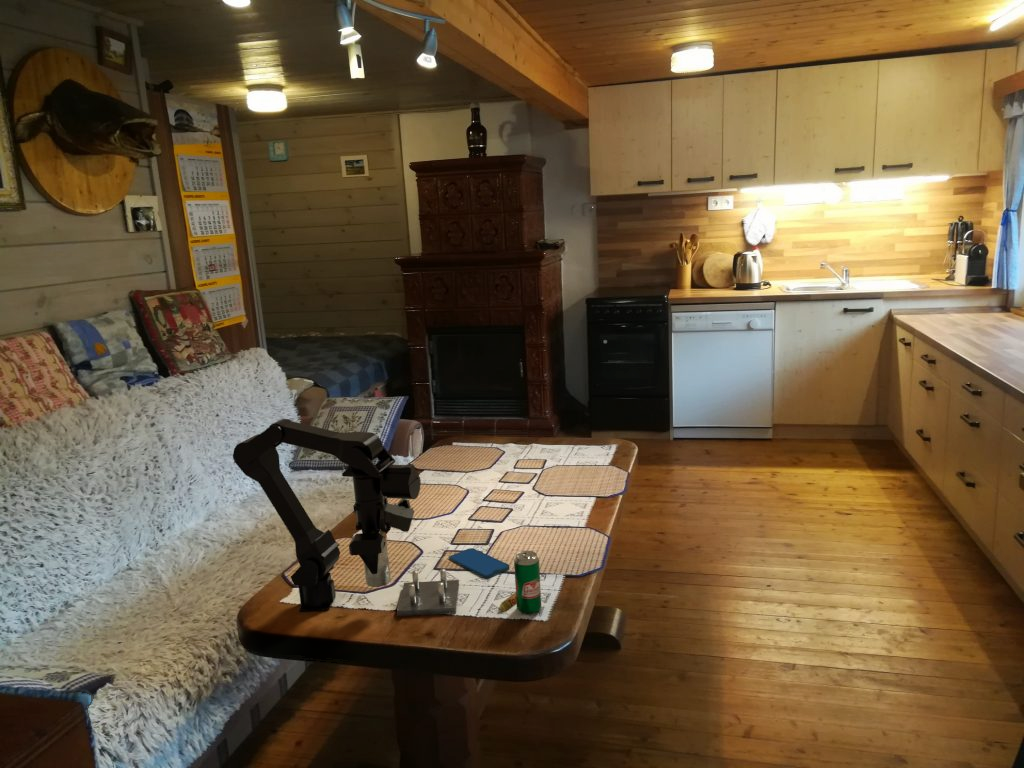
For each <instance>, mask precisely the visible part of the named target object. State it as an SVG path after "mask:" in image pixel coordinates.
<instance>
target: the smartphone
mask: <svg viewBox="0 0 1024 768" xmlns="http://www.w3.org/2000/svg"><path fill="white" fill-rule="evenodd" d="M448 560H449V561H452V562H453V563H455V564H457V565H459V566H460V567H463V568H464V569H466V570H468V571H470V572H472V573H473V574H475V575H477V576H479V577H481V578H483V579H489V578H493V577H494V576H497V575H499V574H501V573H504V572H506V571H508V570H510V564H508V563H507V562H504V561H502V560H499V559H498V558H495V557H493V556H491V555H489V554H486V553H484V552H482V551H480V550H478V549H475V548H472V547H469V548H466V549H464V550H462V551H458V552H457V553H454V554H452V555H449V556H448Z"/></svg>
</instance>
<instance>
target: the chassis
mask: <svg viewBox="0 0 1024 768" xmlns="http://www.w3.org/2000/svg"><path fill="white" fill-rule="evenodd" d="M446 571H447V570H446V568H441V569H439V575H440V576H439V577H440V580H432V581H429V580H428V581H419V571H418V570H417V569H416V570H412V571H411V575H412V582H410V581H409V582H404V583H403V586H402V591H401V594H400V597H399V601H398V606H397V610H396V615H397V617H410V616H425V615H426V616H428V615H446V614H456V613H457V605H458V598H459V590H460V589H459V587H460V580H459V579H451V580H447V573H446Z"/></svg>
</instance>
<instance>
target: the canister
mask: <svg viewBox="0 0 1024 768" xmlns="http://www.w3.org/2000/svg"><path fill="white" fill-rule="evenodd" d="M380 534H381V535H382V536H384V542H386V543H385V546H384V549H383V551H382V553H379V561H378V572H377V574H372V573H371V572H370V570H369V569H368V567H367V566H366V564H365V563H364V562H363V567H364V574H365V575H364V576H365V584H366V585H367V586H368V587H369V588H380V587H384V586H386V585H388V584H389V583H390V582H391V580H392V579H391V570H390V561H389V560H390V559H389V549H388V540H387V539H388V536H387V534H388V533H387V534H386V533H385V532H382V531H380Z"/></svg>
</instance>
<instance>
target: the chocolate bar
mask: <svg viewBox="0 0 1024 768" xmlns="http://www.w3.org/2000/svg"><path fill="white" fill-rule="evenodd" d="M515 605H516V606H517V604H516V591H515V592H514V593H513V594H511V595H509V596H508V597H507V598H506V599H505V600H503V601H501V604H500V605H499V607H498V610H500V611H502V612H505V613H507V612H508V611H510V610H511V609H513V607H515Z"/></svg>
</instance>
